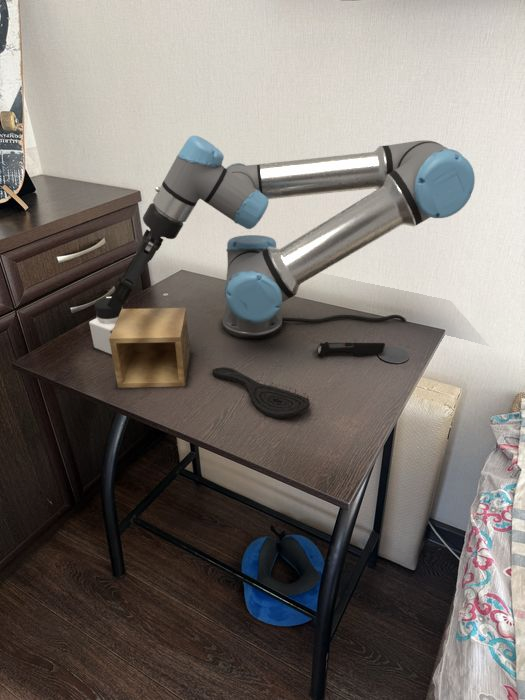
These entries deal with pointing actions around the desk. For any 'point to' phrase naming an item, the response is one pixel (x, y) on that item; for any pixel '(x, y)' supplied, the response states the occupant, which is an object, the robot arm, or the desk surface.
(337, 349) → the electric trimmer
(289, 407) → the hairbrush
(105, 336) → the medicine bottle
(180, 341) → the shelf
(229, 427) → the desk surface
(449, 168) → the robot arm
